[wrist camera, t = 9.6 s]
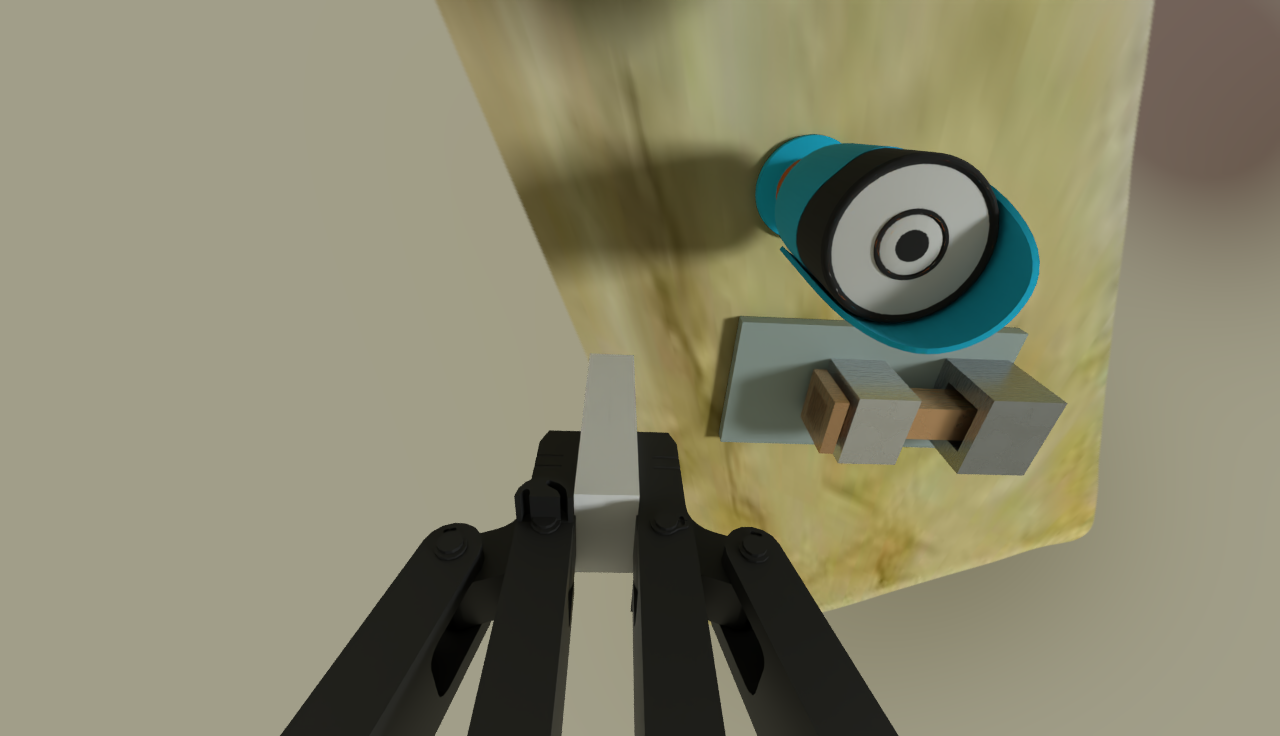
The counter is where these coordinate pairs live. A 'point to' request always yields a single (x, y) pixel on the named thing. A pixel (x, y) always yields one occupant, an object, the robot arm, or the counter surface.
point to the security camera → (900, 240)
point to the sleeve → (873, 411)
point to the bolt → (935, 420)
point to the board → (791, 348)
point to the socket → (998, 416)
